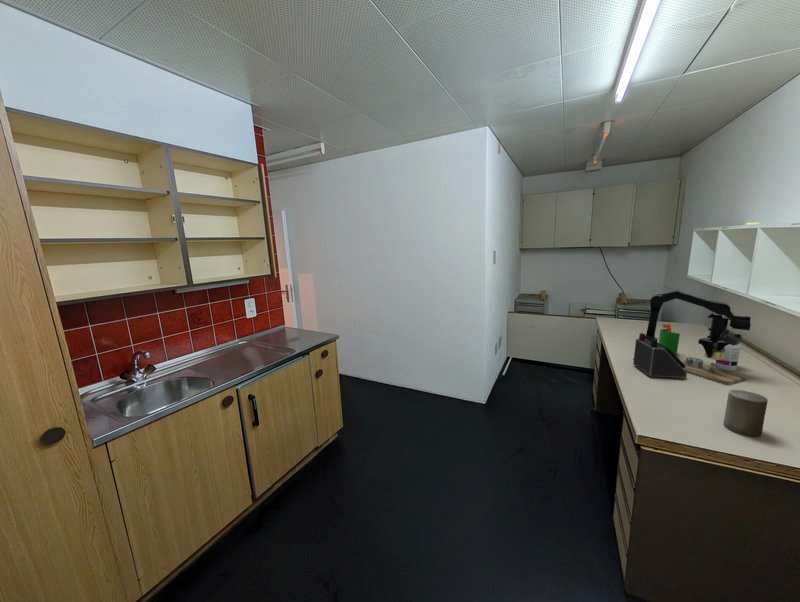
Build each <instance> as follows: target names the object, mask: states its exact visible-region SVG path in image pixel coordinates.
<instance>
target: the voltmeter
mask: <svg viewBox="0 0 800 602" xmlns="http://www.w3.org/2000/svg"><path fill="white" fill-rule="evenodd" d="M638 335H639V336H638V338H635V344H634V345H635V347H634V354H633V359H634V360H633V363H632V365H634V366H635V367H636V368H637V369H639V370H641V371H642V372H644V373H645V374H646V375H648V377H649V378H655V377H659V378H660V377H665V378H675V379H676V380H682V378H683V379H684V378H685V379H686V378H687V376H688V373H687V372H686V371H685V370H684V369H683V368H685V367H686V366H685V365H684V364H683V363H682V362H683V361H682V360H681V359H680V358H679V357H678V356H677V355H675V354H674V353H673V352H672V351H671V350H670V349H669V348H667V347H665V346H663V345H661V344H659V339H658V340H655V339H651V342H650V341H648V340H647V339H645V336H646V333H643V332H641V333H639V334H638Z"/></svg>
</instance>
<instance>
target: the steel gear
mask: <svg viewBox="0 0 800 602" xmlns="http://www.w3.org/2000/svg"><path fill="white" fill-rule="evenodd" d="M693 358H694V357H691V356H688V357H685V361H686V363H685V365H687V366H688V367H692V368H698V369H700V368H703V365H704V359H702V358H697V357H696V358H697V360H693Z"/></svg>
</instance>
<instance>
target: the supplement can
mask: <svg viewBox="0 0 800 602" xmlns="http://www.w3.org/2000/svg"><path fill="white" fill-rule="evenodd" d="M723 351H724V358H723V359H722V360H715V362H714V363H715V368H717V369H721V370H724V371H728V372H732V371H733V372H734V371H736V370H737V369H738V364H739V357H740V353H741V344H740V343H739V344H738V345H735V346H733V345H730V344H729V345H727V346H725V348H724V349H723Z"/></svg>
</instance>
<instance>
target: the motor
mask: <svg viewBox="0 0 800 602" xmlns="http://www.w3.org/2000/svg"><path fill="white" fill-rule="evenodd" d="M680 334H681V333H680V332H679V333H678V332H673V331H672V327H671V324H669V323H663V324H662V328H660V331H659V338H658V343H659V344H661V345H663V346H665V347H667V348H669V349H670V350H671V351H672V352H673V353H674V354H675V355H676V356H677V354H678V349H679V348H678V347H679V341H680V336H681V335H680Z"/></svg>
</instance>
